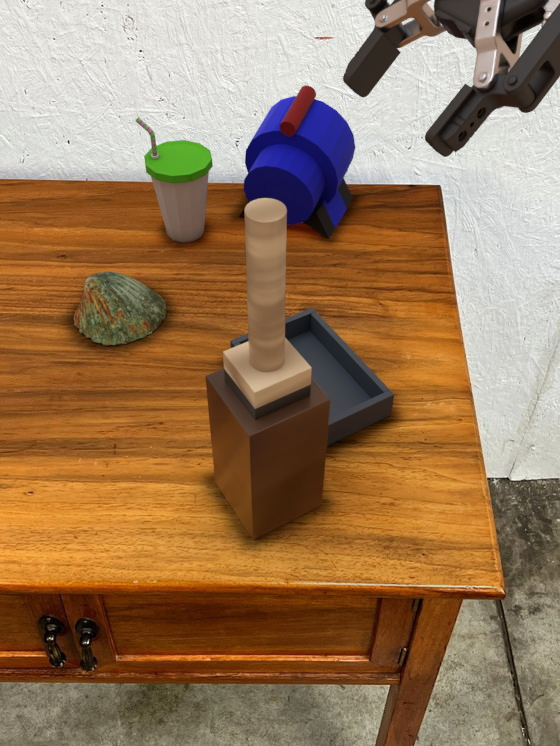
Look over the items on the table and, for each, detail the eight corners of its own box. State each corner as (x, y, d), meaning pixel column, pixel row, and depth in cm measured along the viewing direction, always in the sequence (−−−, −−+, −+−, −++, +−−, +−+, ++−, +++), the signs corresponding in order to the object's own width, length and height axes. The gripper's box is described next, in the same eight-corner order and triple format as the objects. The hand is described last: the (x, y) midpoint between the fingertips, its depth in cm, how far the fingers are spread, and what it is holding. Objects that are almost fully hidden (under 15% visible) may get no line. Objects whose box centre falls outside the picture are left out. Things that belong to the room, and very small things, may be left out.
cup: (230, 228, 97) (224, 116, 86) (188, 259, 92) (176, 145, 81) (183, 206, 100) (172, 95, 89) (140, 235, 96) (123, 122, 85)
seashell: (99, 327, 78) (51, 278, 83) (102, 358, 80) (56, 308, 86) (182, 292, 83) (131, 248, 88) (182, 322, 85) (134, 278, 91)
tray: (391, 415, 76) (394, 394, 73) (305, 457, 72) (306, 435, 70) (311, 328, 84) (312, 307, 82) (231, 361, 80) (229, 340, 78)
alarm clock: (354, 195, 102) (363, 86, 91) (323, 248, 94) (330, 135, 83) (268, 176, 105) (267, 68, 94) (231, 226, 97) (225, 114, 86)
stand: (322, 505, 68) (330, 399, 58) (253, 540, 66) (249, 436, 56) (281, 451, 72) (282, 343, 62) (214, 482, 70) (204, 375, 60)
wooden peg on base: (310, 395, 58) (319, 217, 47) (255, 420, 57) (250, 242, 45) (277, 356, 61) (279, 180, 50) (224, 379, 60) (212, 201, 48)
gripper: (467, -197, 45) (295, 42, 49) (663, -141, 37) (436, 141, 41) (514, -106, 51) (357, 101, 55) (694, -40, 43) (492, 198, 47)
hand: (391, 117), depth 48 cm, fingers open, 8 cm apart
